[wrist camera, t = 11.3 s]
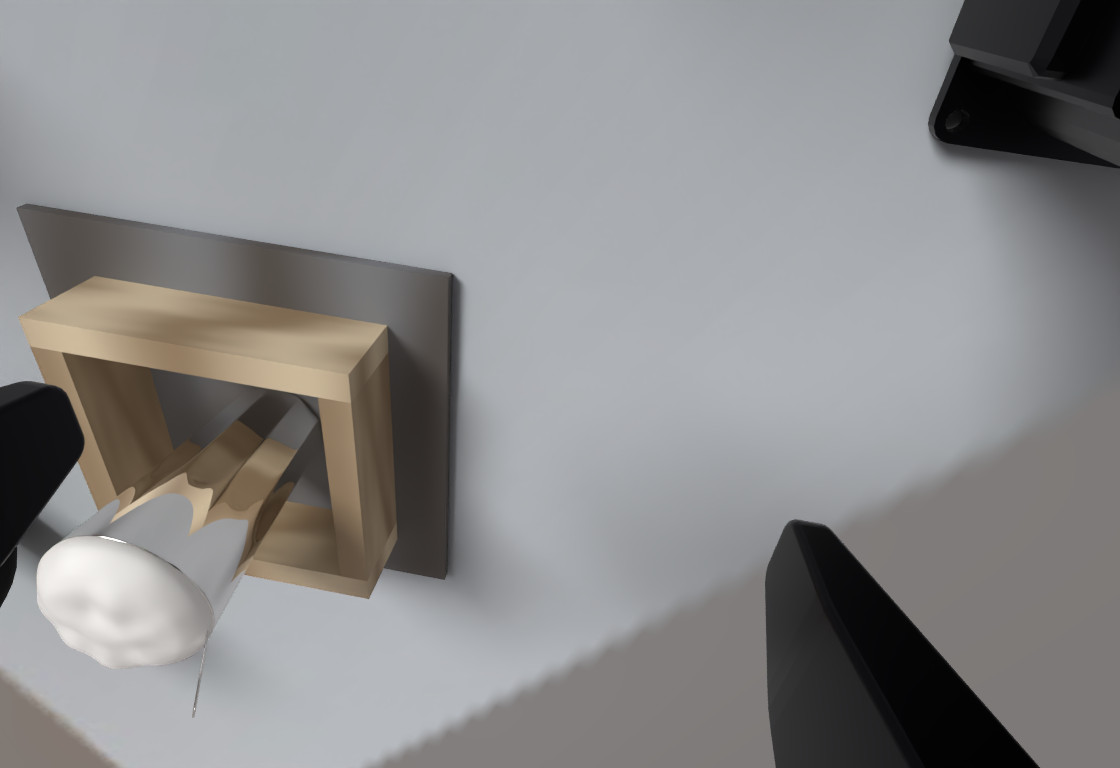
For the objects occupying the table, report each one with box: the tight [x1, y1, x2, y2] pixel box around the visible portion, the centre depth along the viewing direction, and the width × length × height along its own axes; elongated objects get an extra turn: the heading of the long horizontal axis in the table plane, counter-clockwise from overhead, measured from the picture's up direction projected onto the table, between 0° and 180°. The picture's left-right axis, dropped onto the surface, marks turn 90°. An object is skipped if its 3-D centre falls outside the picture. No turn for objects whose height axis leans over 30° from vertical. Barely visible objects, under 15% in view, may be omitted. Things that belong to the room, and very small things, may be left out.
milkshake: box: [37, 388, 322, 718], centre depth 19 cm, size 4×5×10 cm
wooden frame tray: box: [17, 204, 452, 599], centre depth 22 cm, size 14×14×3 cm
